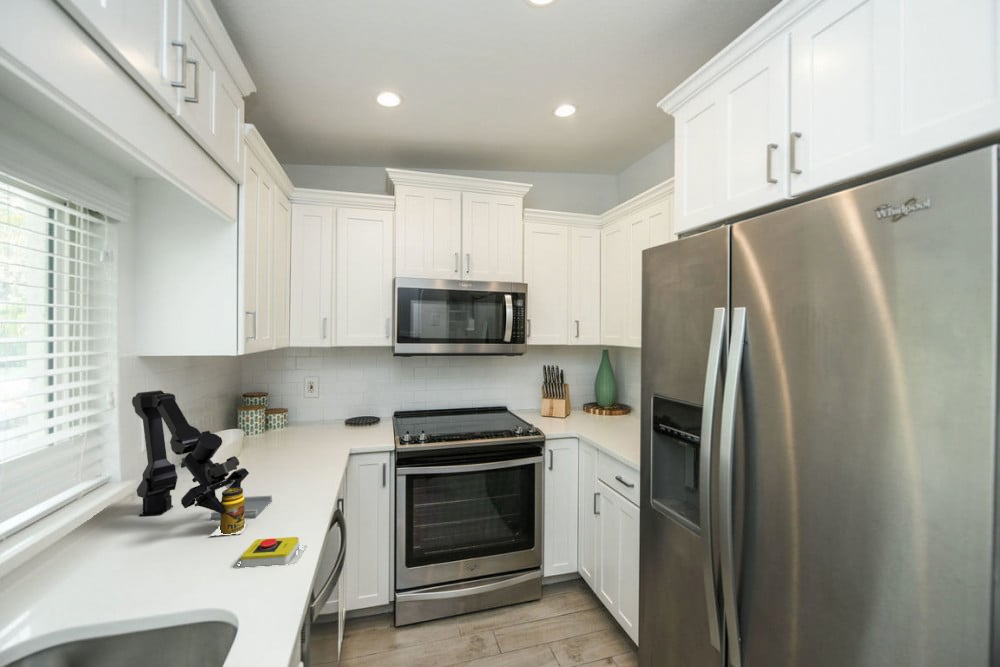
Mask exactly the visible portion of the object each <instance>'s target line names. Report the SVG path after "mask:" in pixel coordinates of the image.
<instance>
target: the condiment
mask: <svg viewBox="0 0 1000 667" xmlns="http://www.w3.org/2000/svg"><path fill="white" fill-rule="evenodd" d="M244 497H245V496H244V489H243V487H241V488H240V487H234V488H229V489H227V488H226V489H224V490H223V491H222V492H221V500H220V503H221V504H222V505H223V507H224V508H225V510H226V512H225V513H224V514H221V513H220V520H219V521H220V524H219V525H220V530H221V533H223V534H231V533H236V532H238V531H241V530H242V529H243V528H244V524H245V523H246V522H245V508H244V505H245V498H244Z"/></svg>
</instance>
